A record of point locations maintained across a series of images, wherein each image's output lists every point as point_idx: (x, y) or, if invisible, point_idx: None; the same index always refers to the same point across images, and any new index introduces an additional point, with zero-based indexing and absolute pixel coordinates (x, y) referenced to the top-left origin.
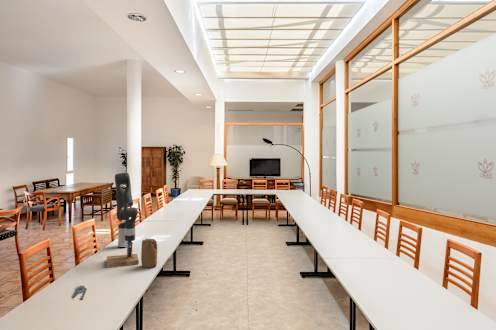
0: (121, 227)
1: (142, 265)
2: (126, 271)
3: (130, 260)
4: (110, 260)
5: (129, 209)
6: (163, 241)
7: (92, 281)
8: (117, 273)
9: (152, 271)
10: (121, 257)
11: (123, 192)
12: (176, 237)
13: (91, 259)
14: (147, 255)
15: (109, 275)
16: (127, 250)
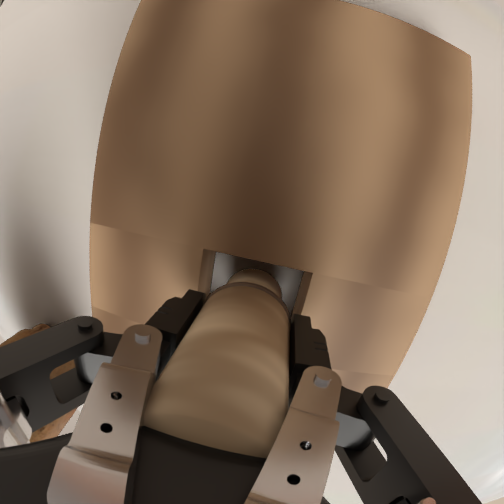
0: None
1: (45, 328)
2: (13, 188)
3: (116, 280)
4: (247, 23)
5: None
6: (485, 480)
7: (10, 14)
8: (10, 122)
9: (4, 330)
10: (331, 202)
11: None
12: None
13: (490, 5)
14: None
15: (12, 74)
16: (188, 349)
